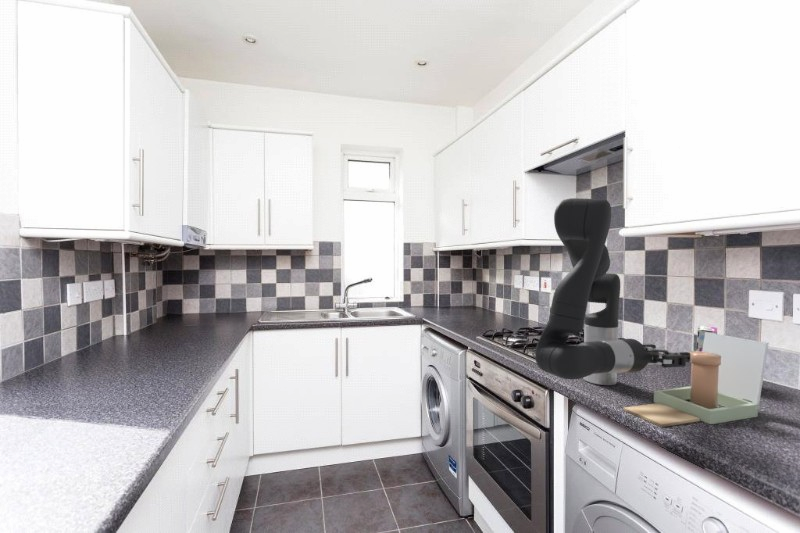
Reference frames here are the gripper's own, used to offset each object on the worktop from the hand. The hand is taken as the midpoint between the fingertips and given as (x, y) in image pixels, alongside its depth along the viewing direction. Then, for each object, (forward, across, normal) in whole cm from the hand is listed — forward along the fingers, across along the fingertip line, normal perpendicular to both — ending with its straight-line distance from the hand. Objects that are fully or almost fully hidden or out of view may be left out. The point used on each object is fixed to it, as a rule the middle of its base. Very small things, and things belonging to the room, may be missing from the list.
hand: (670, 352), depth 93 cm
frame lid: (+21, 0, +12) cm, 25 cm away
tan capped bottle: (+12, 0, +15) cm, 19 cm away
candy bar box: (+38, +17, +15) cm, 44 cm away
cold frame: (+12, 0, +15) cm, 19 cm away
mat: (-2, 0, +15) cm, 15 cm away
